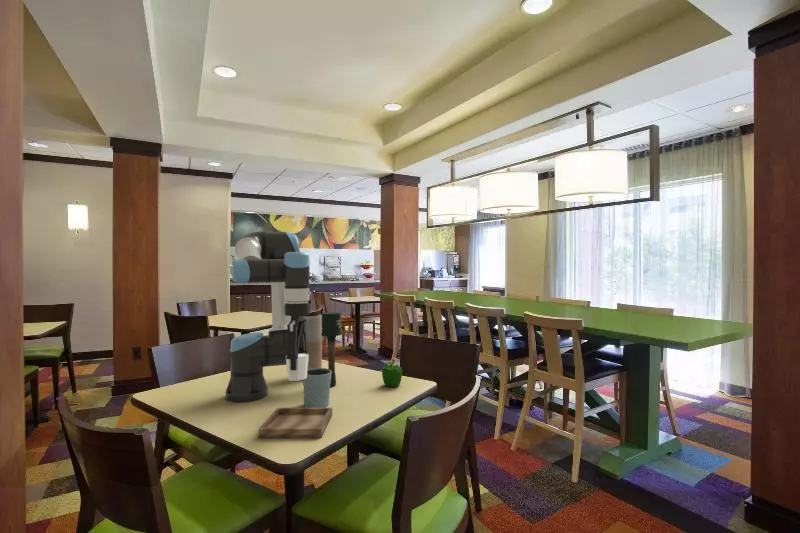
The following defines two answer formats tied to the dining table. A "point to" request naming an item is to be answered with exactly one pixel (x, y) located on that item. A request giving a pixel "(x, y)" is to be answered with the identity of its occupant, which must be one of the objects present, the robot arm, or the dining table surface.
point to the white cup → (300, 365)
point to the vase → (314, 340)
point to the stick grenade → (331, 338)
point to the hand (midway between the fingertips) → (297, 377)
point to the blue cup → (317, 388)
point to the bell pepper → (391, 374)
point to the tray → (296, 423)
